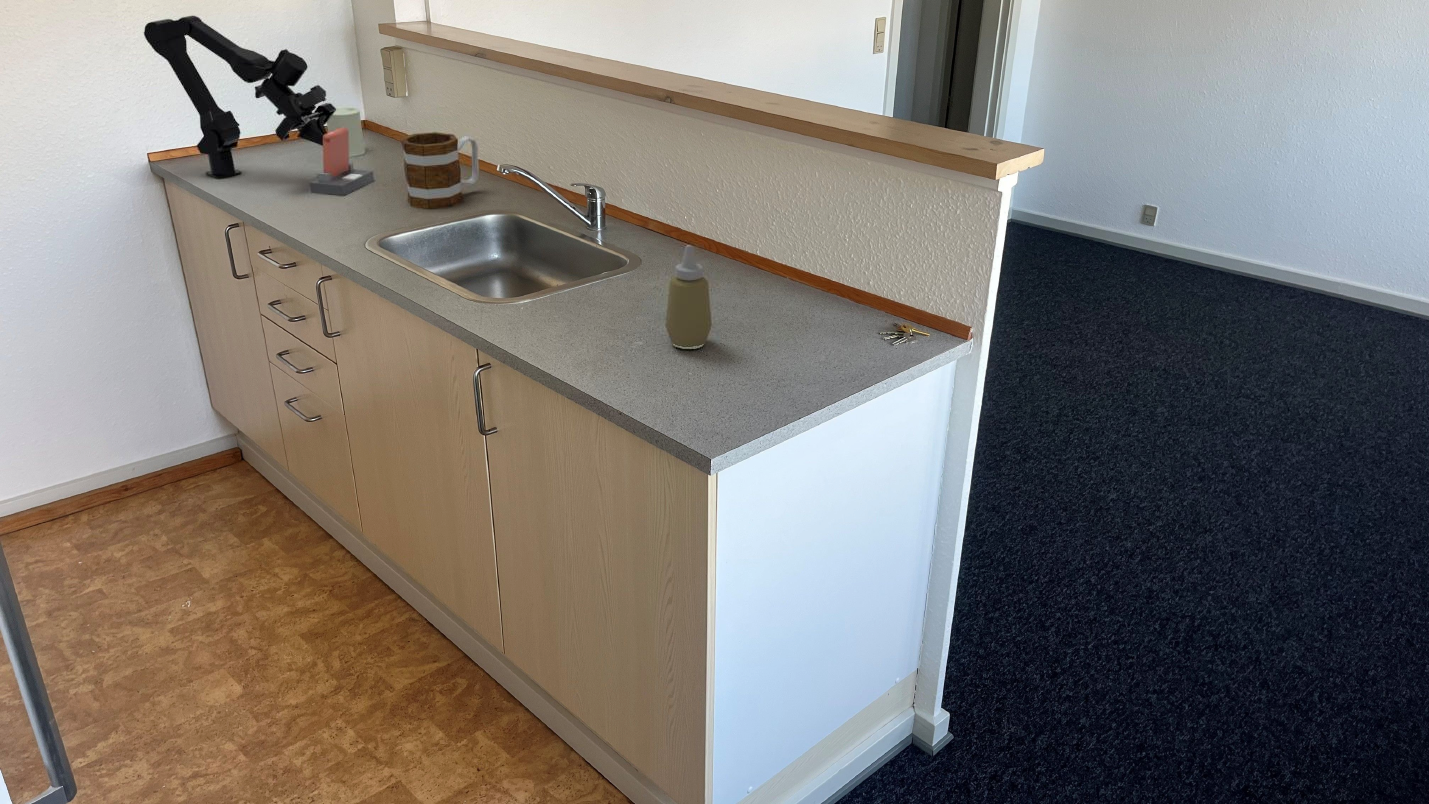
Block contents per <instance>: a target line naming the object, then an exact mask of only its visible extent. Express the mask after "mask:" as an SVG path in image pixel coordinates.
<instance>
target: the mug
mask: <svg viewBox="0 0 1429 804" xmlns="http://www.w3.org/2000/svg"><path fill="white" fill-rule="evenodd" d="M400 141H401V146H402V151H403V161H404V162H403V163H404V164H403V167H404V168H403V169H404V174H405V179H406V186H407V202H408V204H409V206H410V207H412V208H418V209H424V210H436V209H437V210H438V209H447V208H453V207H455V206H457V205H459V204H461V203H464V197H463V193H462V185H465V186H467V185H468V186H471V185H473V184H474V183H476V182H477V181H478V177H479V173H480V172H479V171H480V169H479V146H478V144H477V141H476V139H475V138H474V137H471V136H468V135H465V136H463V137H461V138H460V139H458V138H457V137H456V135H455V134H453V133H446V132H445V133H444V132H438V131H437V132H436V131H434V132H424V133H423V132H422V133H420V132H419V133H412V134H408V135H407V136H404V137H401V138H400ZM467 142H470V144H471V145H470V146H471V167H472V169H471V170H472V174H471V177H470V178H469V179H467V180H466V179H461V175H462V174H461V173H462V171H461V166H460V165H461V164H460V161H459V151H461V150H462V149H463V147H464V146H465V144H466V143H467Z"/></svg>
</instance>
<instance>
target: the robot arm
mask: <svg viewBox="0 0 1429 804" xmlns="http://www.w3.org/2000/svg"><path fill="white" fill-rule="evenodd" d="M143 35H144V39H145V40H146V41H147V43H148V44H149V46H150V47H151V48H152V49H153V50H154V52H156V53H157V54H158V55H160V56H161V57H162V58H163V59H165V60H166V61H167V62H168V64H169V65H170V67H171V69H172V71H173V73H174V74H175V76H176V77H177V78H178V81H179V83H180V85H181V86H182V88H183V90H184V91H185V92H186V94H187V96H188V98H189V99H190V101H191V103H192V104H193V107H194V108H195V110H196V112H197V113H198V115H199V125H200V130H201V132H202V135H203V137H202V138H201V139H200V140H199V142H198V143H197V144H196V148H197V150H198V152H199V153H200V154H202V155H203V154H204V155H207V158H208V164H209V168H210V171H205V174H206V175H207V176H210V177H213V178H216V179H223V178H228V177H231V176H232V177H233V176H237V175H242V171H240V170H237V169H236V168H235V163H234V157H233V152H232V149H235V148H237V147H238V143H239V140H240V136H241V134H242V133H241V130H240V127H239V126H240V123H238V122H237V120H236V119H235V116H234V113H233V112H232V111H231V110H227V111H225V110H223V109H222V108H220V107H219V106H218V104H217V102H216V100H215V99H214V97H213V95H212V93H211V92H210V90H209V89H208V87H207V85H206V82H205V81H204V80H203V77H202V76H201V75H200V73H199V71H198V69H197V68H196V66H195V64H194V62H193V61H192V59H191V57H190V56H189V54H188V50H187V49H188V47H187V45H188V44H187V39H186V36H188V37H189V38H191V39H192V40H193V41H195V42H196V43H198V44H199V45H201V46H203V47H204V48H206V49H207V50H209V52H211V53H214V54H215V55H216V56H217V57H219V58H221V59H222V60H223V61H225V62H226V63H227V64H228V65H229V66H230V68H231V70H232V72H233V73H234V74H236V75H237V77H239V78H240V79H241V80H242V81H243V82H245V83H248V84H252V83H256V82H260V81H262V80H263V81H262V82H261V84H260V85H256V86H254V91H255V92H254V98H256V99H261V98H263V97H266V99H267V100H268V101H269V102H270V103H271V104H272V105H273V106H274V107H275V108H276V109H277V110H276V114H277V115H279V116H282V115H283V116H284V118H283V119H282V120H281V122H280V123H279V124H278V125H277V127H276V128H275V136H276V137H277V138H278V139H279V140H280V141H281V142H284V141H287V140H289V139H290V132H291V131H294V130H296V129H297V132H298V134H297V136H296V137H297V138H298V139H303V140H306V141H309V142H312V143H314V144H317V145H319V146H322V147H323V135H325V134H327V133H328V130H326V126H325V125H327V122H328V120H329V119H330V118H331V116H332V115H333V114H334V112H335V111H336V108H337V107H335V106H334V105H333V104H332V102H331V103H330V102H327V103H323V104H320V103H321V102H326V101H327V98H326V96H327V92H326V90H325V89H324V88H323V87H321V85H319V84H316V85H314V86H313V87H310V88H309V89H310V90H309V91H307V92H305V93H301V92H297V93H296V92H294V91H293V90H292V88H291V87H295V86H296V85H297V83H298V82H299V81H300V79H301V78H302V77H303V75H304V74H305V73H306V71H307V69H308V64H307V62H306V60H305V59H304V58H303V57H301V56H299V55H298V54H295V53H293V52H290V51H289V50H288V49H286V48H285V49H282V50H280V51H279V53H278V55H277V57H276V58H275V60H270V59H269V58H268V57H266V56H264V55H263V54H261V53H258V52H256V51H255V50H251V49H248V48H247V49H246V48H245V47H241V46H239V45H237V44H236V43H235V42H233V41H231V40H230V39H229V38H227V37H226V36H224V35H223V34H221V32H218V31H217V30H216V29H214V28H212V26H210V25H208V24H207V23H205V22H204V21H203V20H202V19H201V18H200V17H198V16H196V15H188V16H182V17H180V18H178V19H175V20H174V19H172V18H166V19H165V18H164V19H159V20H155V21H150V22H148V23H146V24H145V26H144V31H143ZM318 104H319V105H318ZM316 105H318V106H316Z"/></svg>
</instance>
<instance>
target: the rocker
mask: <svg viewBox="0 0 1429 804" xmlns="http://www.w3.org/2000/svg"><path fill="white" fill-rule="evenodd" d="M322 152H323V153H322V158H323V159H322V163H323V173H331V177H332V178H333V177H335V176H337V175H339V174H341V173H343V172H346V171H348V170H349V163H350V157H349V132H348V129H347V128H346V127H342V128H340V129H337V130H335V131H332V132H330V133H328V132H327V134H325V135H323V146H322Z"/></svg>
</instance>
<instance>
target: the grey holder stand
mask: <svg viewBox="0 0 1429 804" xmlns="http://www.w3.org/2000/svg"><path fill="white" fill-rule="evenodd" d="M354 168H355V167H354V163H353V162H352V163H351V162H349V170H348V171H346V172H343V173H341V174H339V175H337V176H335V177H333V178H332V177H331V173H324V171H323V172H321V171H320V172H317V178H316V179H315V180H312V181H310V182H309V188H310V193H313V194H323V195H333V196H339V197H344V196H347V195H348V194H351V193H353V192H354V191H356V190H358V189H361V188H363V187H364V186H366V185H369V184H370V183H373V182H374V181H375V178H374V171H373V170H367V169H366V170H364V169H354Z"/></svg>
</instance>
